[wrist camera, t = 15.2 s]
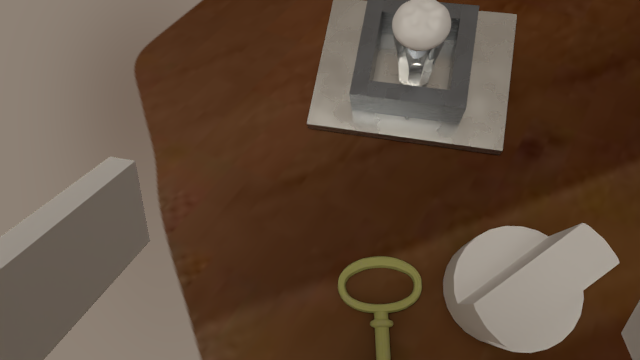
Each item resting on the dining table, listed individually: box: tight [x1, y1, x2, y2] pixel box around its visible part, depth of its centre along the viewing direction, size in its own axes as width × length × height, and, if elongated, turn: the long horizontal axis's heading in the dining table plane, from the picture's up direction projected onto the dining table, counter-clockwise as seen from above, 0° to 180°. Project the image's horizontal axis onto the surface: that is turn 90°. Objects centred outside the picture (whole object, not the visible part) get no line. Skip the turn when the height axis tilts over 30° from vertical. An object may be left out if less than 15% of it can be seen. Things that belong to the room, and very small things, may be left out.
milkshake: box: [392, 0, 451, 87], centre depth 39 cm, size 4×5×10 cm
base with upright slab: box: [443, 223, 620, 353], centre depth 33 cm, size 9×9×12 cm
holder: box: [307, 0, 517, 155], centre depth 43 cm, size 18×14×5 cm
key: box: [338, 256, 422, 360], centre depth 39 cm, size 7×12×2 cm, turn 20°
